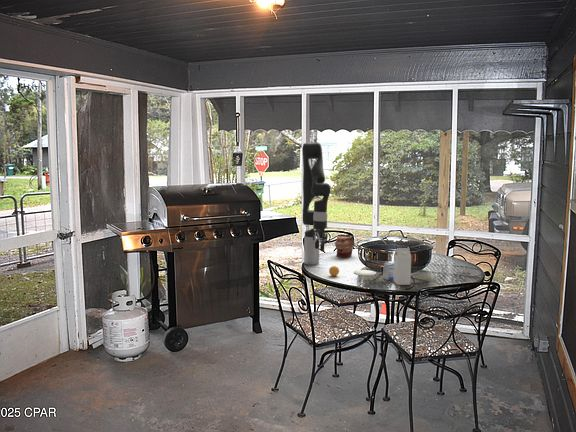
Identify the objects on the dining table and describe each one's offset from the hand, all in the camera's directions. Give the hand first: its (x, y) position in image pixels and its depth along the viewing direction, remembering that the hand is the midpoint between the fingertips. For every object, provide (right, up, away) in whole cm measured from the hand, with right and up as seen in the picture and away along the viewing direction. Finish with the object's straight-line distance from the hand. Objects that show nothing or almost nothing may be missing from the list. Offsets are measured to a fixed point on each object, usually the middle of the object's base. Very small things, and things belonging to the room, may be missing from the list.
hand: (319, 249), depth 276 cm
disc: (+27, -14, +13) cm, 33 cm away
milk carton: (+43, -18, -8) cm, 47 cm away
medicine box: (+40, -16, +1) cm, 43 cm away
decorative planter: (+20, -8, +59) cm, 63 cm away
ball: (+9, -12, +5) cm, 16 cm away
